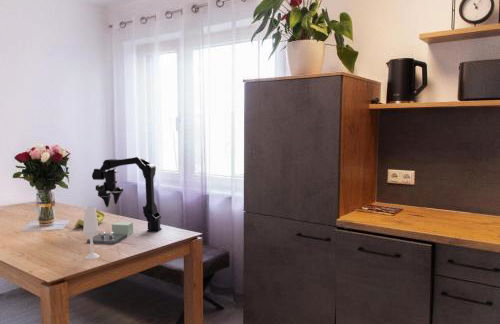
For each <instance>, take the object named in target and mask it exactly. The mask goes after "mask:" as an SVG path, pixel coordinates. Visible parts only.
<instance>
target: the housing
mask: <svg viewBox="0 0 500 324" xmlns="http://www.w3.org/2000/svg"><path fill="white" fill-rule="evenodd" d="M111 232H113V234H122V235H127V236H131V235H132V234H134V222H128V221H117V222H114V223H112V224H111Z"/></svg>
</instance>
